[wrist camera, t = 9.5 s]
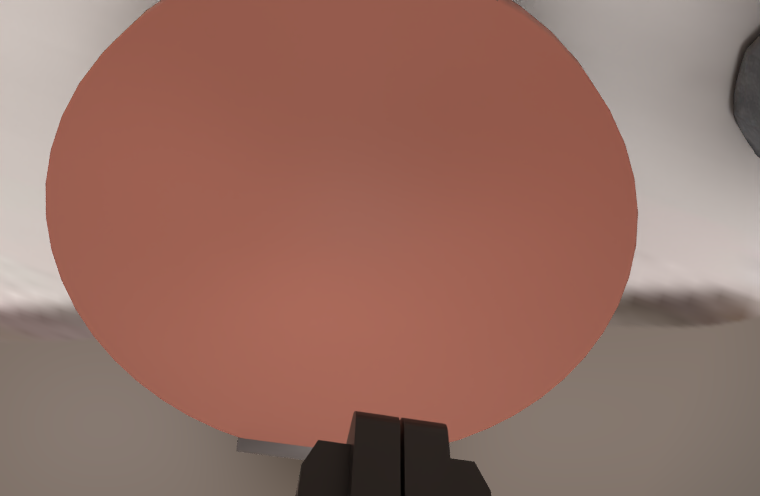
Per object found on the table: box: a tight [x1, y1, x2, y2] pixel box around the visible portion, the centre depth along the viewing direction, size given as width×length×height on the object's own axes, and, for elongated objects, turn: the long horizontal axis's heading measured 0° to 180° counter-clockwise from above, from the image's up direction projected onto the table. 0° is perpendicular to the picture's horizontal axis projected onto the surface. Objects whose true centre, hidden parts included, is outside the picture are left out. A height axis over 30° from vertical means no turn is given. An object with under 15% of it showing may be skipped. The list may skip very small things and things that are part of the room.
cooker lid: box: [46, 0, 638, 460], centre depth 21 cm, size 20×17×1 cm
